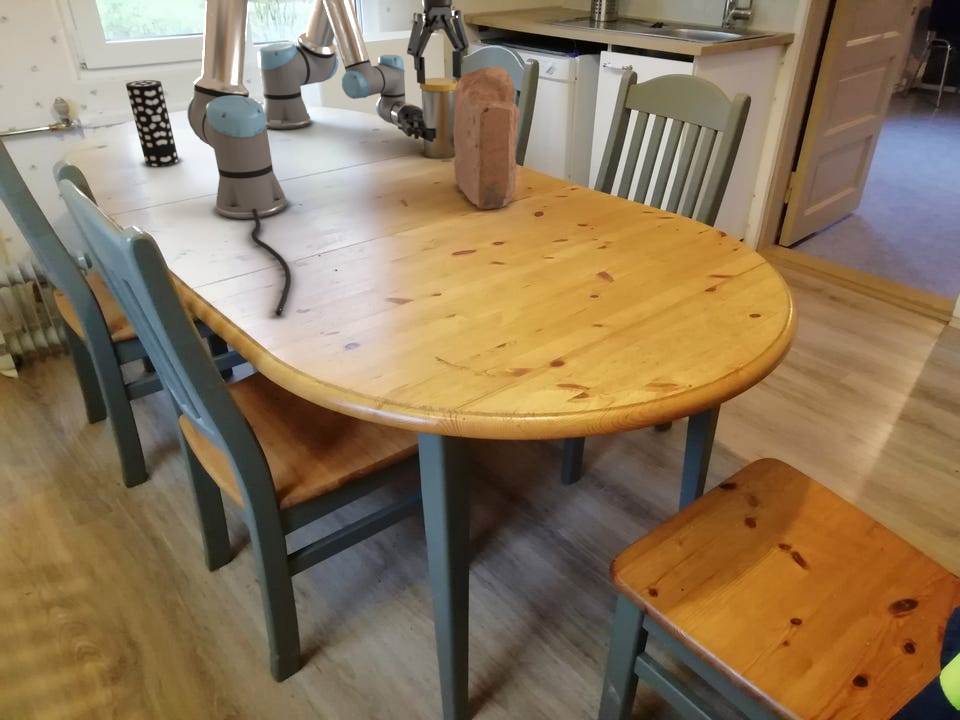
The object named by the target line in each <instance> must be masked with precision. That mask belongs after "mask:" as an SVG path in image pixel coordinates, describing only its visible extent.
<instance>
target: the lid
mask: <svg viewBox="0 0 960 720" xmlns="http://www.w3.org/2000/svg"><path fill="white" fill-rule="evenodd" d="M457 83H458V80H457V79H454V78H449V77H429V78H425V84H421V83H419V89H420V90H421V91H422V90H425V91H433V92H445V91H452V90H455V87H456V85H457Z"/></svg>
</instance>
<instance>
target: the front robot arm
mask: <svg viewBox="0 0 960 720" xmlns="http://www.w3.org/2000/svg"><path fill="white" fill-rule="evenodd" d="M452 5H453V0H422V6H423V12H421V13H420V12H414V13H413V15H412V16H413V18H412V19H413V23H412V28H411V31H410V36H409V40H408V43H407V44H408V45H407V49H406V53H407V55H410V56H412V57H413V68H414V70H415V71H416V83H417V84H420V83H421V84H425V79H426V63H425V62H426V60H425V59H426V58H425V56H423V53H424V52H425V50H426V48H427V45H428V43H429V41H430V39H431V37H432V35H433V34H434V33H435V31H439V30H443V31H444V33H445V34H446V36H447V38H448V40H449V41H450V43H451V45H452V47H453V49H454V50H452V52H451V53H452V54H451V55H452V56H451V57H452V58H451V59H452V78H456V79H460V78H461V76H462V64H463V62H464V61H463V60H464V59H463V57H464V55H463V53H465V52H466V49H469V47H470V45H469V41H468V38H467V34H466V31H465V28H464V24H463V20H462V11H461V9H455V8H453V9H452V8H451V7H452ZM248 12H249V0H205V10H204V29H203V50H202V68H201V69H202V70H201V76H199V77H198V78H197V79H196V80H195V81H194V82H193V83H194V86H193V96H192V97H191V99H190V101H189V103H188V105H187V120H188V123H189V126H190V128H191V130H192V131H193V133H194V134H195V136H196V137H198V138H199V140H200V141H202V142H203V143H204V144H206V145H208V146H210V147H211V148H212V149H213V151H214V156H215V161H216V167H217V169H218V170H217V172H218V185H217V193H216V201H215V203H216V204H215V206H216V210H217V213H218V214H219V215H221V216H223V217H225V218H229V219H236V220H253V219H254V222H255V227H254V229H253V231H252V233H251V239H252V240H253V242H254V243H255V244H257V245H258V246H260V247H261V248H263V249H264V250H266V251H267V252H268V253H270V254H271V255H272V256H273V257H275V259H276V260H277V261H278V262H279V263H280V265H281V267H282V268H283V271H284V275H285V276H284V277H285V281H284V282H285V283H284V287H283V290H282V293H281V297H280V300H279V302H278V305H277V307H276V310H277V311H276V310H275V315H276V316H281V315H282V312H283V310H284V307H285V304H286V302H287V300H288V297H289V296H288V295H289V292H290V288H291V283H292V276H291V271H290V267H289V265H288V263H287V262H286V261H285V259H284V258H283V256H281V254H279V253H278V252H277V251H276V250H274V249H273V248H272V247H271V246H270V245H268V244H267V243H266V242H264V241H262V240H260V239H259V238H258V236H257V235H258V233H259V231H260V229H261V220H260V218H261V219H262V218H265V217H266V218H267V217H270V216H274V215H276V214H278V213H280V212H282V211H283V210H285V209H286V207H287V199H286V194H285V193H284V191H283V189H282V187H281V184H280V182H279V180H278V179H277V177H276V175H275V172H274V167H273V160H272V154H271V147H270V140H269V133H268V128H267V126H266V124H267V123H266V122H267V121H266V116H265V114H264V110H263V105H262V104H261V103H260V102H259V101H258V100H257V99H255V98H252V97H250V91H249V90H248V89H247V87H246V86H245V85H244V70H245V69H244V68H245V56H246V55H245V53H246V41H247V26H248ZM451 20H452V22H451ZM280 309H281V310H280Z"/></svg>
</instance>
